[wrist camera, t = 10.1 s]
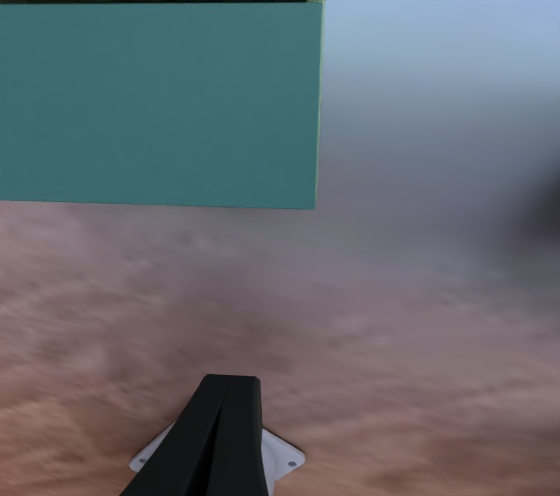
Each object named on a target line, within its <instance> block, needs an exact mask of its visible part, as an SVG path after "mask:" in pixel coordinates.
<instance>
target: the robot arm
mask: <svg viewBox="0 0 560 496" xmlns="http://www.w3.org/2000/svg"><path fill="white" fill-rule="evenodd" d="M304 462H305V454H304V453H303V452H301V451H299V450H298V449H296V448H294V447H293V446H291V445H290V444H288V443H286V442H285V441H283V440H281V439H280V438H278V437H276V436H275V435H273V434H271V433H270V432H268V431H266V430H265V429H263V426H262V406H261V387H260V380H259V379H258V378H257V377H256V376H237V375H218V374H207V375H206V376H205V377H204V378H203V379H202V381H201V383H200V385H199V386H198V388H197V390H196V391H195V393H194V394H193V396H192V398H191V399H190V401H189V402H188V404H187V406H186V407H185V409H184V410H183V412H182V413H181V415H180V416H179V418H178V419H177V420H176V421H175V422H174V423H172V424H171V425H170V426H169V427H168V428H167V429H166V430H164V431H163V432H162V433H161V434H160V435H159V436H158V437H156V438H155V439H154V440H153V441H152V442H151V443H150V444H148V445H147V446H146V447H145V448H144V449H143V450H142V451H140V452H139V453H138V454H137V455H136V456H135V457H133V458H132V459H131V461H130V463H129V467H130V468H131V469H132V470H133V471H135V472H137V474H136V476H135V477H134V478H133V479H132V481H131V482H130V483H129V484H128V486H127V487H126V488H125V489H124V490H123V492H122V493H121V494H120V495H119V496H273V491H274V482H275V481H277V480H278V479H280V478H281V477H283V476H284V475H286V474H288V473H289V472H291V471H292V470H294V469H295V468H297V467H299V466H300V465H302V464H303V463H304Z"/></svg>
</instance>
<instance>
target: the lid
mask: <svg viewBox="0 0 560 496" xmlns="http://www.w3.org/2000/svg"><path fill="white" fill-rule="evenodd" d="M322 16H323V3H321V2H281V3H101V4H0V200H10V201H43V202H77V203H110V204H143V205H177V206H210V207H243V208H276V209H310V210H314V209H315V200H316V174H317V147H318V121H319V95H320V68H321V42H322Z"/></svg>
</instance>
